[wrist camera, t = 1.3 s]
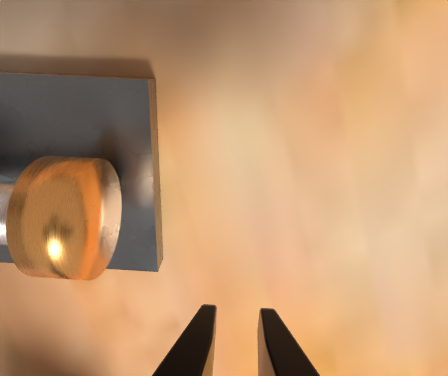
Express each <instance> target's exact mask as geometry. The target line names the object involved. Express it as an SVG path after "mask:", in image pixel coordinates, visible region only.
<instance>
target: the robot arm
mask: <svg viewBox="0 0 448 376" xmlns="http://www.w3.org/2000/svg"><path fill="white" fill-rule="evenodd" d="M216 311H217V307H216V306H215V305H208V304H204V305H202V306H201V308H200V309H199V310H198V312H197V313H196V315H195V316H194V317H193V319H192V320H191V322H190V323H189V324H188V326H187V327H186V329H185V330H184V331H183V333H182V334H181V336H180V337H179V338H178V340H177V341H176V343H175V344H174V345H173V347H172V348H171V350H170V351H169V352H168V354H167V355H166V357H165V358H164V359H163V361H162V362H161V364H160V365H159V366H158V368H157V369H156V371H155V372H154V373H153V375H152V376H212V373H213V360H214V347H215V333H216ZM258 376H320V375H319V373H318V372H317V371H316V369H315V368H314V366H313V365H312V363H311V362H310V360H309V359H308V357H307V356H306V354H305V353H304V352H303V350H302V349H301V347H300V346H299V344H298V343H297V341H296V340H295V338H294V337H293V336H292V334H291V333H290V331H289V330H288V328H287V327H286V325H285V324H284V322H283V321H282V320H281V318H280V317H279V315H278V314H277V312H276V311H275V310H274V309H270V308H261V309H260V313H259V323H258Z"/></svg>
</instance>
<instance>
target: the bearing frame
mask: <svg viewBox="0 0 448 376" xmlns="http://www.w3.org/2000/svg"><path fill="white" fill-rule="evenodd" d="M43 156H63V157H83V158H101V159H105V160H107V161H108V162H110V163H111V165H112V166H113V168H114V169H115V171H116V174H117V177H118V180H119V184H120V190H121V201H122V211H121V223H120V230H119V235H118V240H117V243H116V247H115V250H114V253H113V255H112V258H111V260H110V262H109V264H108V265H107V267H106V269H120V270H137V271H153V272H158V270H159V268H160V265H161V262H162V260H163V246H162V222H161V199H160V175H159V152H158V129H157V105H156V82H155V79H154V78H131V77H108V76H86V75H63V74H40V73H17V72H0V181H12V182H17V180H18V178H19V177H20V175H21V174H22V172H23V171H24V170H25V169H26V168H27V166H28V165H29V164H31V163H32V162H33V161H35V160H36V159H38V158H41V157H43ZM0 262H6V263H14V261H13V259H12V257H11V255H10V252H9V249H8V246H6V245H0Z"/></svg>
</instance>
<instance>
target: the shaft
mask: <svg viewBox="0 0 448 376" xmlns="http://www.w3.org/2000/svg"><path fill="white" fill-rule="evenodd" d="M121 211H122V201H121V190H120V184H119V180H118V177H117V174H116V171H115V169H114V168H113V166H112V165H111V163H110V162H108V161H107V160H105V159H101V158H83V157H63V156H43V157H41V158H38V159H36V160H35V161H33V162H32V163H31V164H29V165H28V166H27V168H26V169H25V170H24V171H23V172H22V174H21V175H20V177H19V178H18V180H17V182H12V181H0V245H6V246H8V249H9V252H10V255H11V257H12V259H13V261H14V263H15V265H16V266H17V267H18V269H19V270H21V271H22V272H23V273H24V274H26V275H28V276H31V277H42V278H58V279H74V280H94V279H96V278H97V277H98V276H100V275H101V274H102V273H103V271H104V270H105V269H106V267H107V265H108V264H109V262H110V260H111V258H112V255H113V253H114V250H115V247H116V243H117V240H118V235H119V230H120V223H121Z"/></svg>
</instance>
